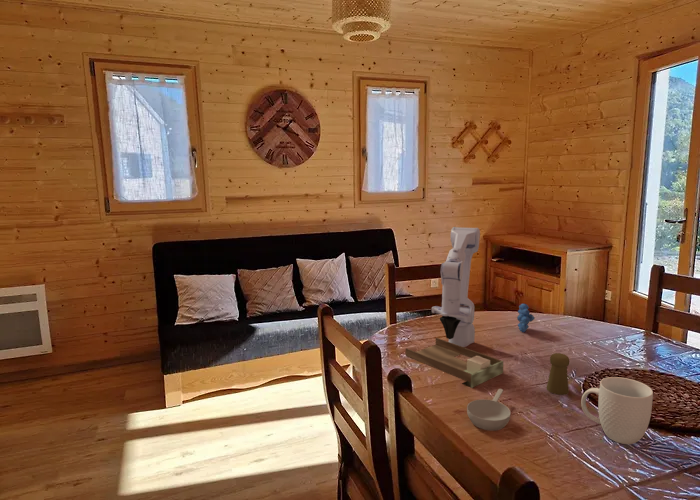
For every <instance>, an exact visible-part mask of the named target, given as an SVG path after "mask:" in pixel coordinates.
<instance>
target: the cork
mask: <svg viewBox="0 0 700 500" xmlns="http://www.w3.org/2000/svg"><path fill="white" fill-rule="evenodd" d="M549 362H550V364H551V365H550V371H549V374H548V380H547V383H546V384H547V385H546V391H548V392H549V393H551V394H553V395H558V396H564V395H565V396H566V395H568V394H569V393H570V392H569V391H570V389H569V378H568V367H569V365H570V357H569V356H568V355H567V354H564V353H561V352H555V353H552V354H551V355H550V357H549Z"/></svg>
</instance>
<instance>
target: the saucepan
mask: <svg viewBox="0 0 700 500" xmlns="http://www.w3.org/2000/svg"><path fill="white" fill-rule="evenodd" d="M503 392H504V389H502V388H498V389H497V391H496V393H495V395H494V397H493V398H492V399H475V400H472V401H470V402H468V404H467V406H466V413H467V416H468V418H469V420H470V422H471V424H472V425H474V427H477V428H479V429H480V430H481V429H482V430H484V431H490V432H491V431H493V432H494V431H495V432H496V431H499V430H502V429H503V428H505V426H506V425H507V424H508V423H509V421H510V418H511V410H510V408H509V407H508V406H506V404H504V403H502V402H499V399H500V398H501V396H502V395H503Z"/></svg>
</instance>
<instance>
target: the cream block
mask: <svg viewBox="0 0 700 500" xmlns="http://www.w3.org/2000/svg"><path fill="white" fill-rule="evenodd" d="M466 362H467V372H469V373H471V374H474V373H476V372H478V371H480V370H483V369H485V368H487V367H489V366H490V360H488V359H485V358H482V357H480V356H475V357H472V358H470V357H469V358H468V359H466Z"/></svg>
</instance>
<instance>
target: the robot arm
mask: <svg viewBox="0 0 700 500" xmlns="http://www.w3.org/2000/svg"><path fill="white" fill-rule="evenodd" d="M480 239H481V230H480V228H479V227H459V226H458V227H457V226H453V227H452V228H451V230H450V242H451V247H452V248H451V249H449V251H448V254H447V257H446V260H445V261H444V262H442V263H441V265H440V278H441V279H440V281H441V286H442V292H441V294H442V295H441V306H438V305H435V306H432V307H431V313H433V314H439V315H441V317H440V318H439V321H440V323H441V325H442V326H443V329H444V334H445V337H446V339H448V342H450V343H453V344H456V345H459V346H461V347H464V348H466V347H468V346H469V345H471V344H473V343H475V338H476V337H475V336H476V335H475V334H476V329H475V328H476V327H475V326H474V320H475V304H474V302H473V301H472V300H471V299H469V297H468V295H469V284H470V275H471V274H470V273H471V266H472V258H473V255H474V254H475V253H477V252H478V251H479V247H480Z"/></svg>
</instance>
